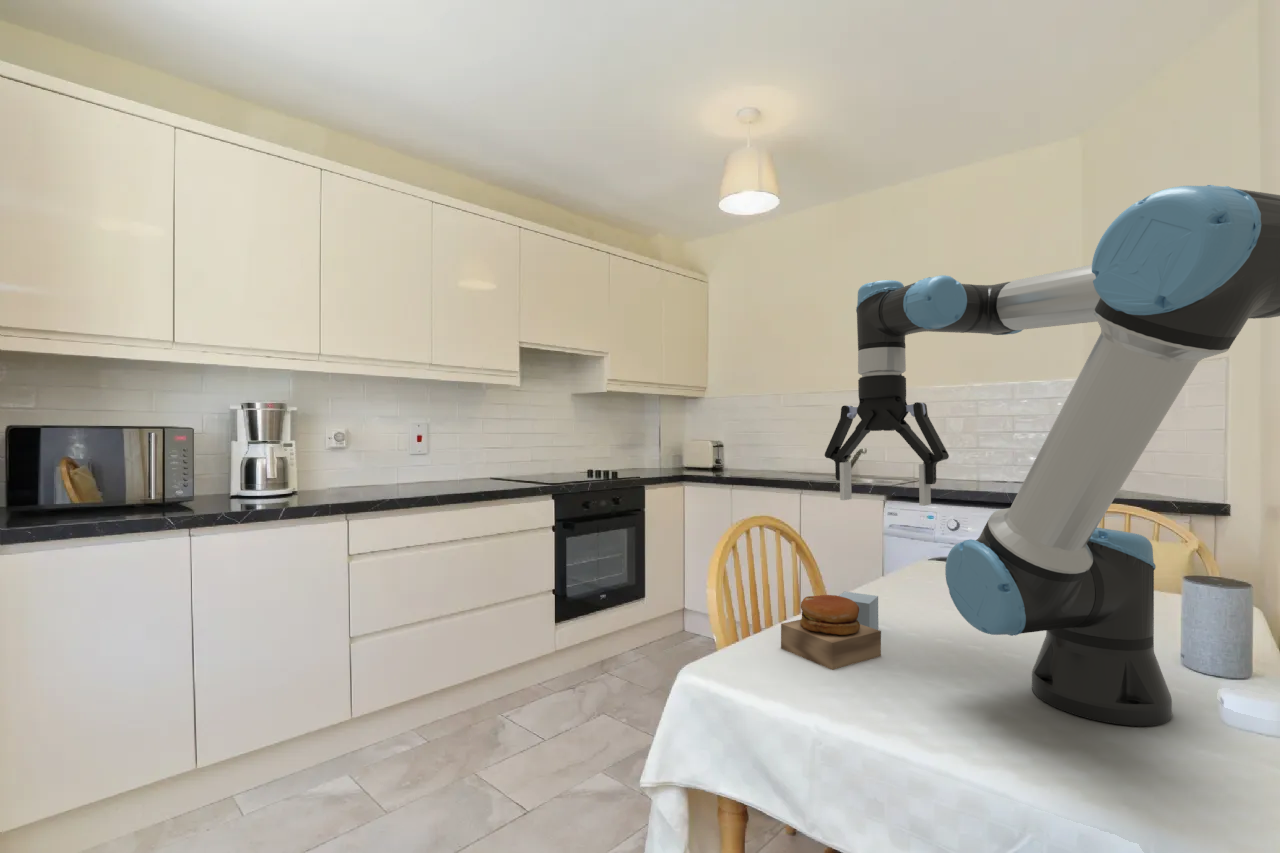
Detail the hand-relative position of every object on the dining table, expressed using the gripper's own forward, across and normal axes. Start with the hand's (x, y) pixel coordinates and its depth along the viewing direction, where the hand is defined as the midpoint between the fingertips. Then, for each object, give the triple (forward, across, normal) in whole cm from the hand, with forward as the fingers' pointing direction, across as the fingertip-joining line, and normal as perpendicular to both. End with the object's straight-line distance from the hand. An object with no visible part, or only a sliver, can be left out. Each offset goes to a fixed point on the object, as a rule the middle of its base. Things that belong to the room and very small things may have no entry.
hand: (883, 502), depth 108 cm
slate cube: (+24, +7, -4) cm, 25 cm away
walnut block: (+24, +5, +9) cm, 27 cm away
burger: (+20, +5, +10) cm, 23 cm away
